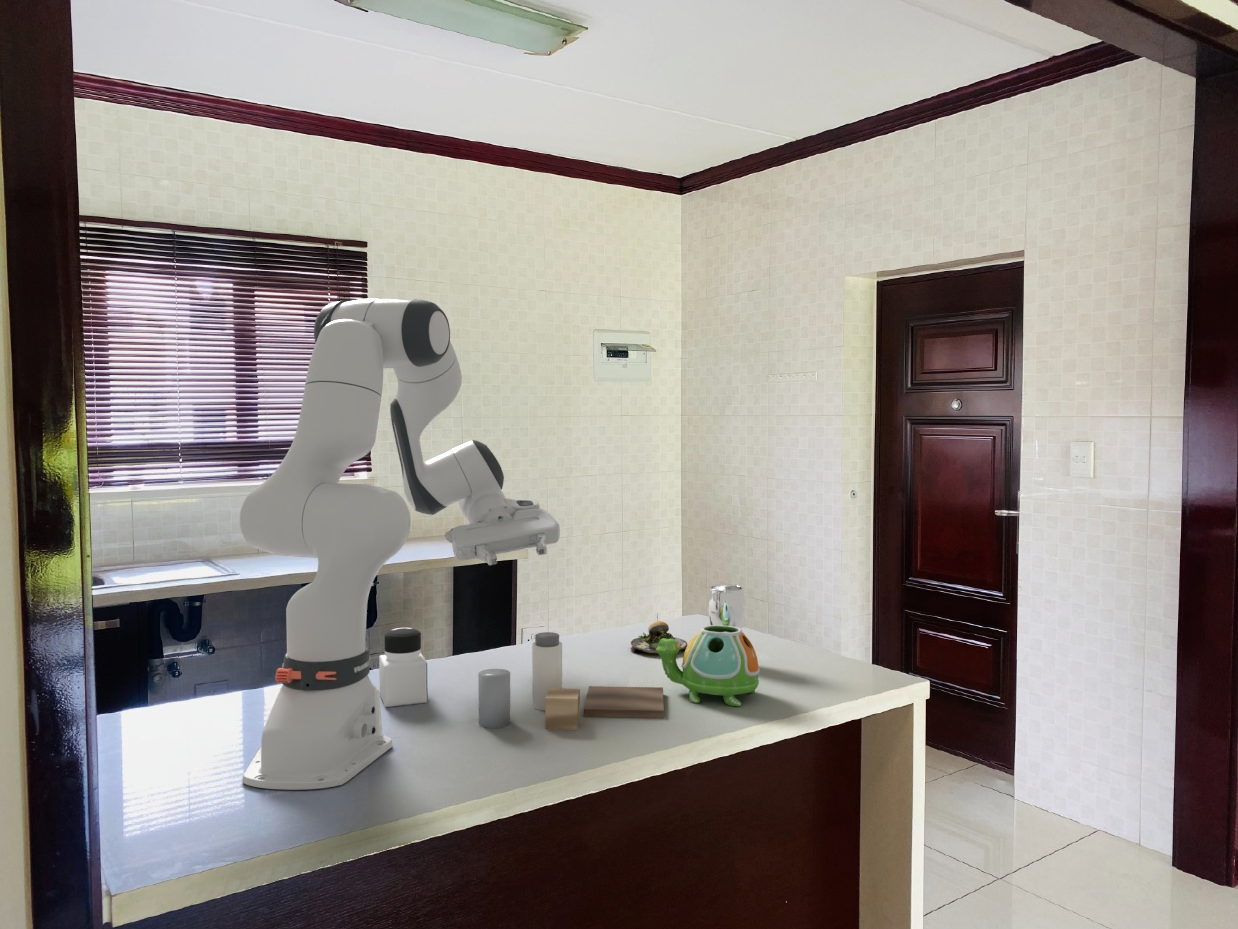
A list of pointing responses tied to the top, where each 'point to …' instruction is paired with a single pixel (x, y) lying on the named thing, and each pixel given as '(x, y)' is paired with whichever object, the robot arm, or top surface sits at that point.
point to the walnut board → (624, 702)
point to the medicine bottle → (403, 669)
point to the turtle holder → (713, 663)
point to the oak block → (562, 709)
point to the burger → (655, 638)
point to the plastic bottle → (545, 667)
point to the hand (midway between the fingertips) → (518, 556)
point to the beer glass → (726, 605)
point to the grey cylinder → (494, 698)
